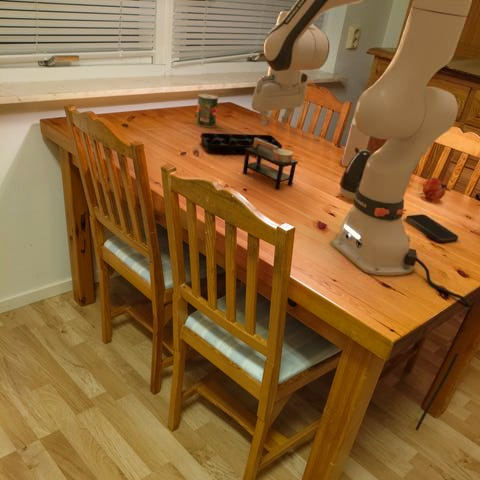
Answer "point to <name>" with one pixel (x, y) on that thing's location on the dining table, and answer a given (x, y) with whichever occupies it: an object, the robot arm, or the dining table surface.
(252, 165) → the rack
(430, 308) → the dining table surface
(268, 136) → the egg carton
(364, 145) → the milk carton
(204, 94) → the canned tomato
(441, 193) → the pomegranate
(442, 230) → the phone
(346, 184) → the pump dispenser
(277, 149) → the ladle
